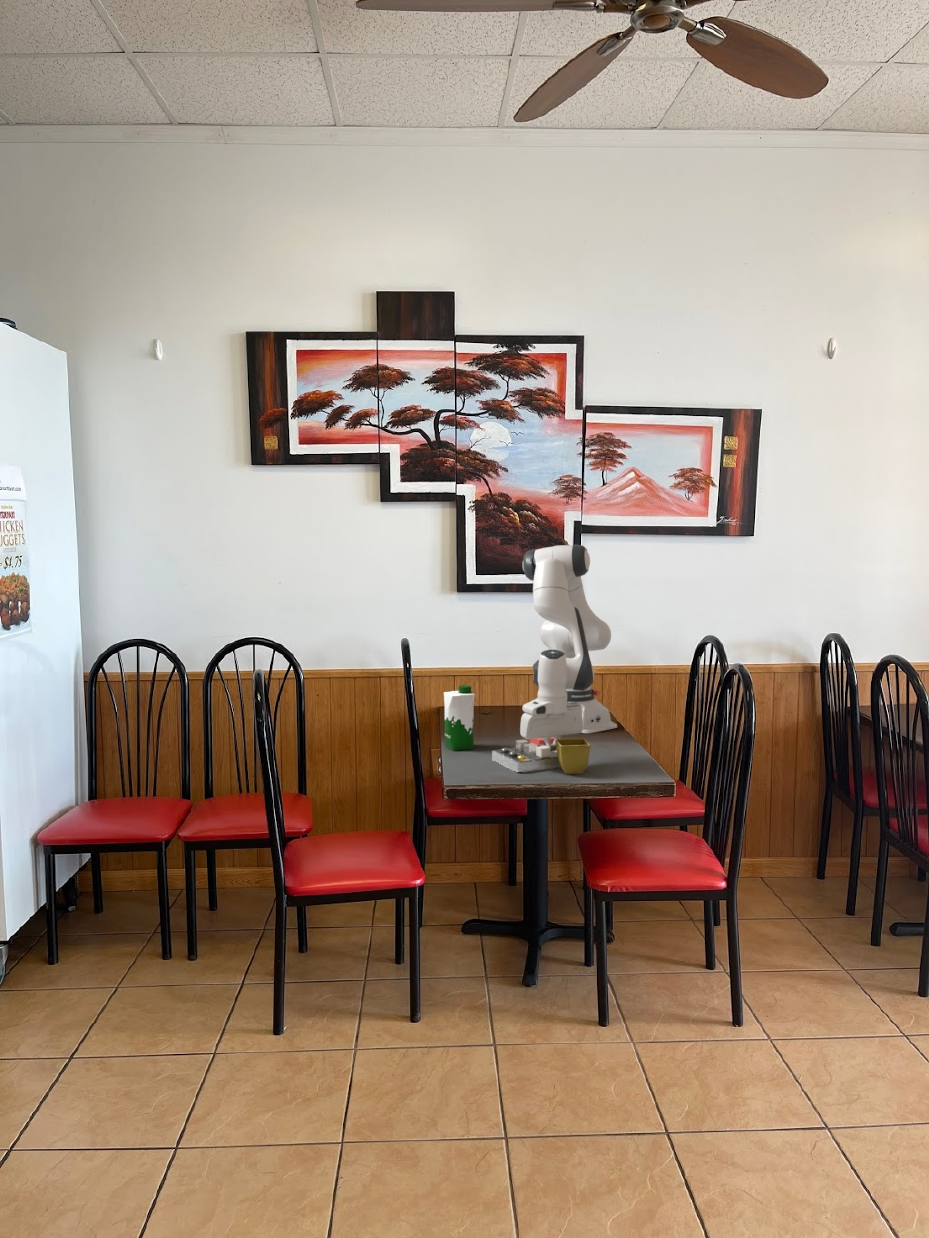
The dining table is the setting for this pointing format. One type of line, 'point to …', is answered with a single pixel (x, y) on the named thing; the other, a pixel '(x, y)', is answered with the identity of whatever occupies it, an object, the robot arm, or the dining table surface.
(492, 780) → the dining table surface
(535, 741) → the cap
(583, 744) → the flower pot
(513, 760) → the breaker panel
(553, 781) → the dining table surface
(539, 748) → the breaker toggle
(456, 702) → the milk carton
